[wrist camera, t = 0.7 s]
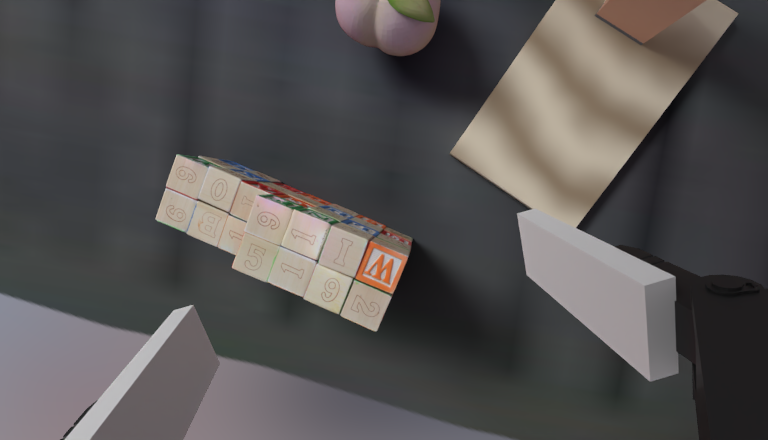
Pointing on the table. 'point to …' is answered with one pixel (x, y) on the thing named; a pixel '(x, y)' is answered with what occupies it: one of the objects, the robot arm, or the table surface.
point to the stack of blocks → (287, 236)
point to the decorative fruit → (389, 23)
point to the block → (644, 16)
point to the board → (581, 104)
